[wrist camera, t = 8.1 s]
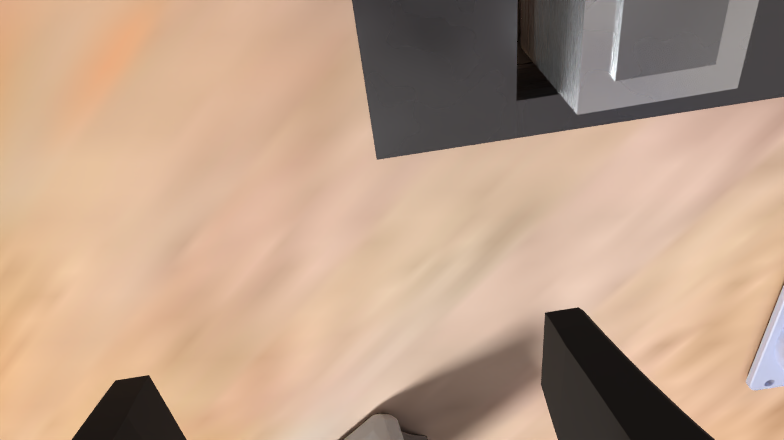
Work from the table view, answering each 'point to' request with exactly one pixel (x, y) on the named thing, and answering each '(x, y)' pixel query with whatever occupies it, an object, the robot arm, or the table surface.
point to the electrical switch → (382, 430)
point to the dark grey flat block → (502, 76)
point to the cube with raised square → (636, 48)
